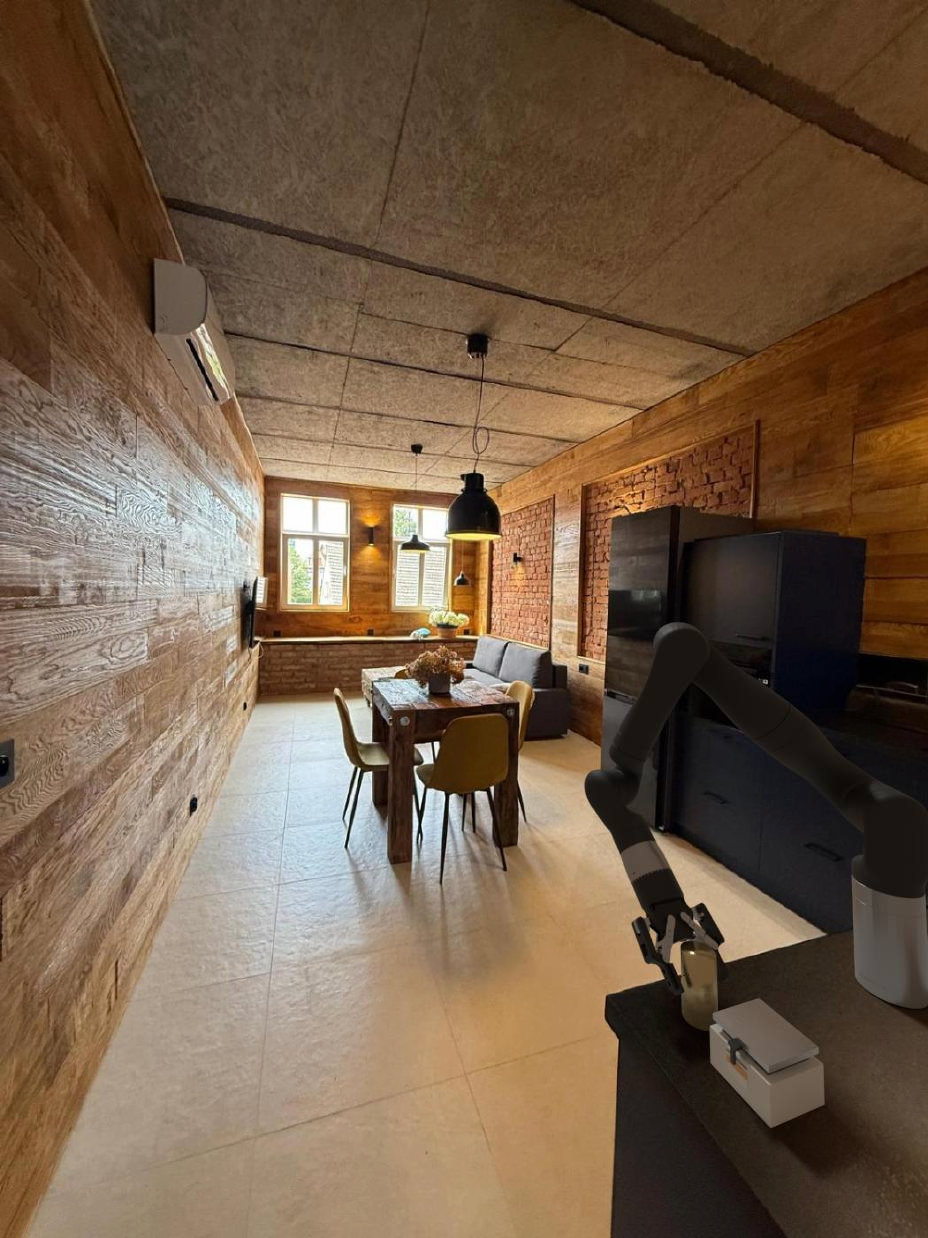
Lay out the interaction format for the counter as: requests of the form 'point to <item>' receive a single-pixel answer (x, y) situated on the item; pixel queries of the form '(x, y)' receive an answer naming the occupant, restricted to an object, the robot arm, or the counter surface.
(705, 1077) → the counter surface
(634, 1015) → the counter surface
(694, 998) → the disc
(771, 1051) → the box lid
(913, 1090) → the counter surface
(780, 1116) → the white latched box
